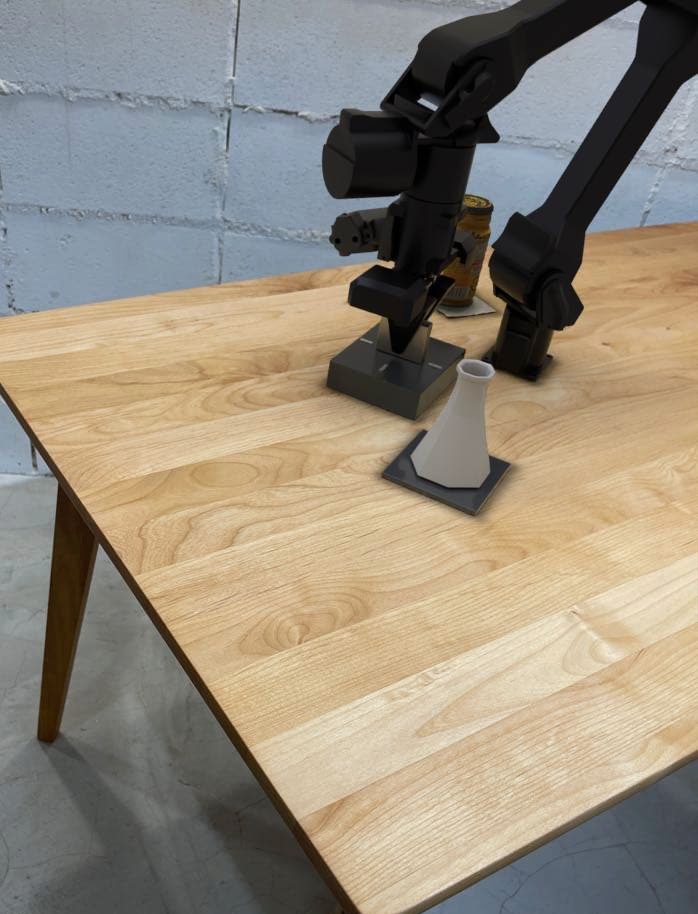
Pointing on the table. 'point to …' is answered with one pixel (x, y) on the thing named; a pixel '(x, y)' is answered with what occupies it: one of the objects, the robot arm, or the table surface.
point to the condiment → (464, 289)
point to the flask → (459, 432)
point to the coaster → (456, 497)
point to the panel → (394, 374)
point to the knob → (415, 347)
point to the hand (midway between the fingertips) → (400, 349)
